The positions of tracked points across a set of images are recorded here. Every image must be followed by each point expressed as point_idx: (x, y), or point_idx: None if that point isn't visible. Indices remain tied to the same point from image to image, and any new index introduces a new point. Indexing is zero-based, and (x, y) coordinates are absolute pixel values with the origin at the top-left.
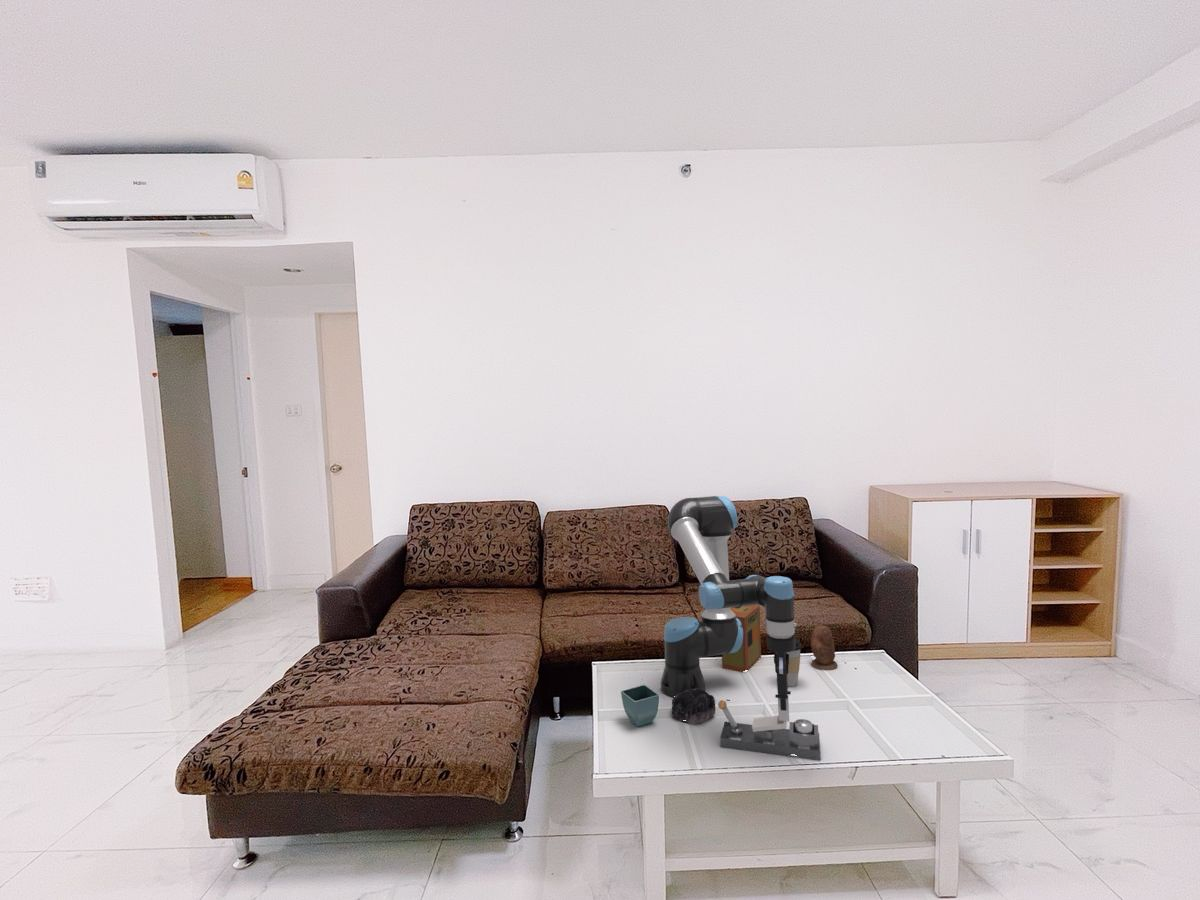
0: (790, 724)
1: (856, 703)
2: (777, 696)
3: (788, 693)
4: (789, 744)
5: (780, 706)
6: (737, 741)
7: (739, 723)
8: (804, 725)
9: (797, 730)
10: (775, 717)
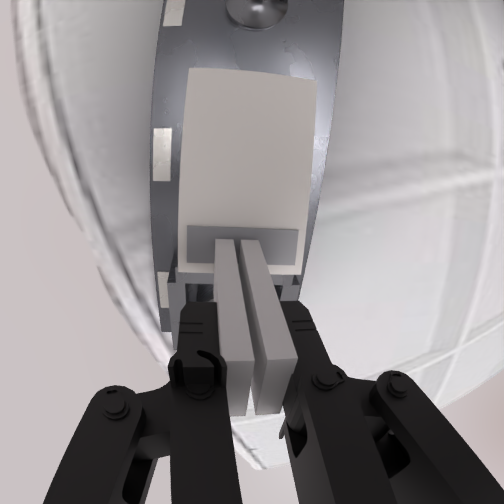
0: None
1: (442, 360)
2: (104, 399)
3: (282, 427)
4: (175, 241)
5: (217, 311)
6: (162, 15)
7: (340, 27)
8: None
9: (207, 300)
10: (285, 214)
